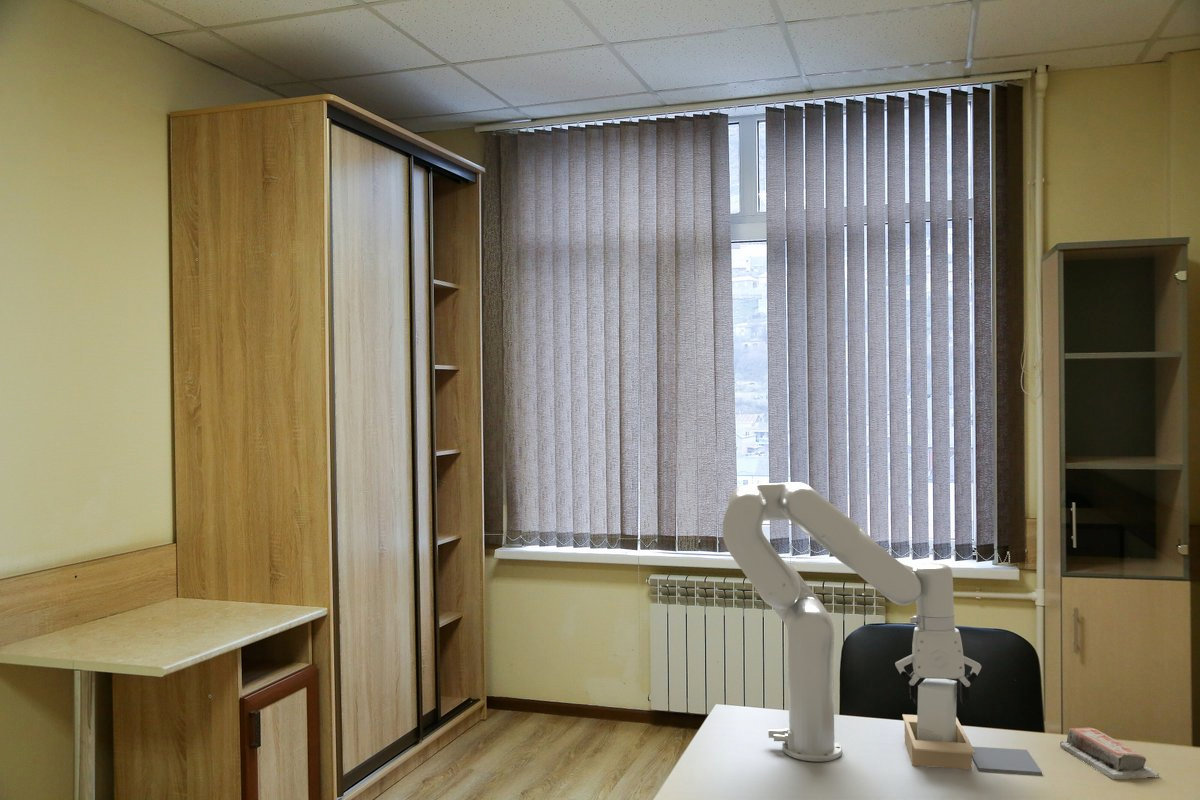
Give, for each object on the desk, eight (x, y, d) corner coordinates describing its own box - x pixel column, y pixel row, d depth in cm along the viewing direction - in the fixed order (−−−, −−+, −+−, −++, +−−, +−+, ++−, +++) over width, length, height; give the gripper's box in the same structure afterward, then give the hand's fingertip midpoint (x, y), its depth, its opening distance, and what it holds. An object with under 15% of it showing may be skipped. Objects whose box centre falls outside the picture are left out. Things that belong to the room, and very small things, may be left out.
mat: (978, 770, 185) (978, 767, 185) (967, 748, 197) (967, 746, 197) (1042, 775, 183) (1042, 772, 183) (1026, 752, 195) (1026, 749, 195)
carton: (914, 773, 185) (914, 748, 185) (902, 736, 205) (902, 714, 205) (975, 777, 182) (975, 752, 182) (957, 739, 203) (956, 717, 203)
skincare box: (926, 745, 199) (927, 674, 199) (958, 752, 195) (958, 680, 195) (915, 758, 192) (915, 684, 192) (947, 765, 188) (948, 690, 188)
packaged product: (1057, 726, 198) (1100, 724, 199) (1058, 748, 198) (1100, 746, 199) (1112, 758, 180) (1159, 755, 181) (1113, 782, 180) (1159, 779, 181)
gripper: (895, 626, 192) (899, 707, 192) (982, 627, 188) (986, 710, 188) (891, 618, 199) (895, 696, 199) (975, 618, 196) (979, 698, 196)
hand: (939, 702), depth 194 cm, fingers open, 9 cm apart
